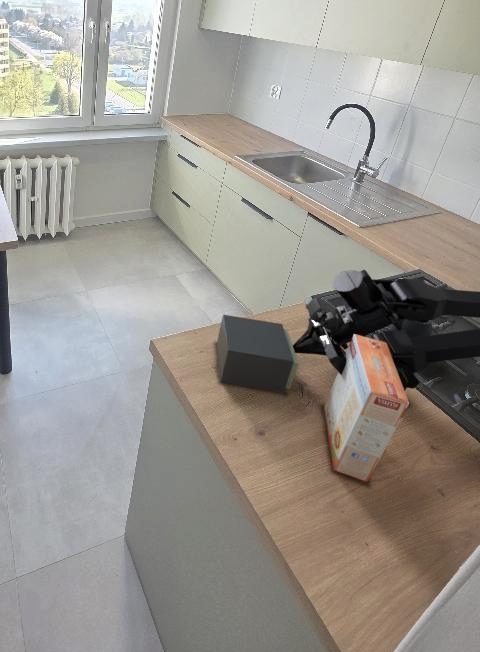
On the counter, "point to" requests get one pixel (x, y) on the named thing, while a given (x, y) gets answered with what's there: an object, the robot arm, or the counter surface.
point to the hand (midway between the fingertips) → (292, 350)
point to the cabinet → (253, 353)
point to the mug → (416, 328)
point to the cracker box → (363, 407)
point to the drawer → (293, 359)
